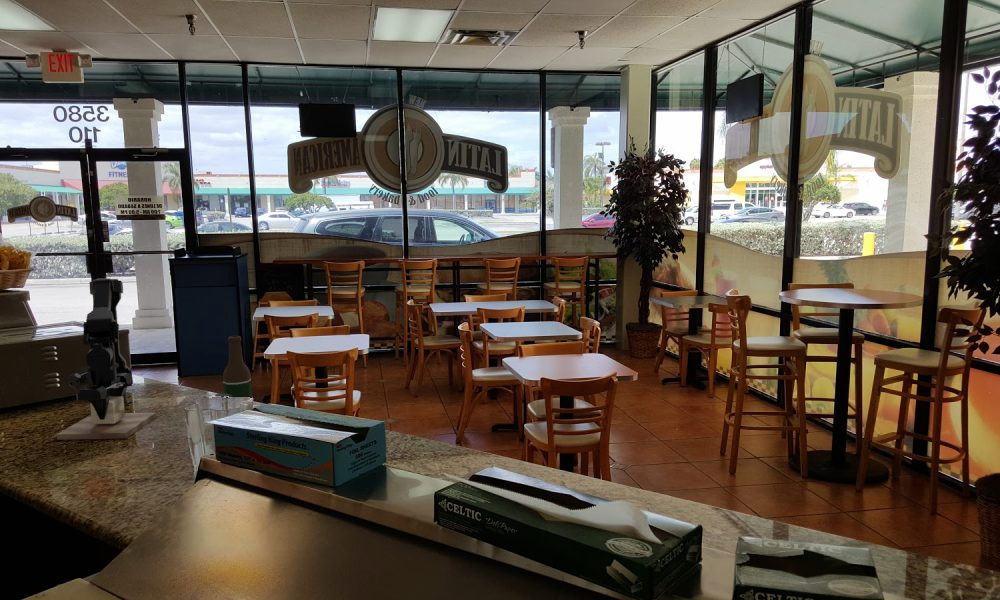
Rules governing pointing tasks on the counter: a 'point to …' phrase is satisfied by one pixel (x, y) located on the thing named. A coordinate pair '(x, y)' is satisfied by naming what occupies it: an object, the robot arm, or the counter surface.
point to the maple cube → (110, 411)
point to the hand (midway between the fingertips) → (108, 416)
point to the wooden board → (107, 427)
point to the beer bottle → (236, 371)
